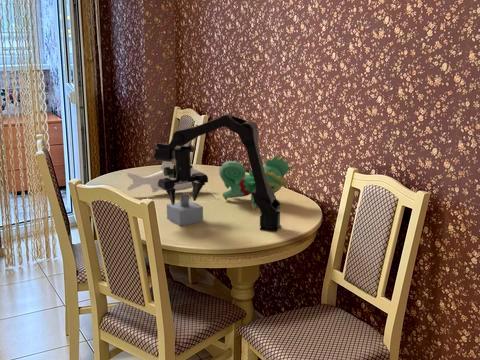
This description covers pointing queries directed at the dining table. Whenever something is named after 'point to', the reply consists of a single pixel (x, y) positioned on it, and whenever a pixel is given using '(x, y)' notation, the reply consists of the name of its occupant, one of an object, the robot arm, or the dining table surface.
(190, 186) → the fish
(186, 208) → the block with rounded knob
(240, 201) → the dining table surface
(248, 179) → the toy
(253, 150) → the robot arm
